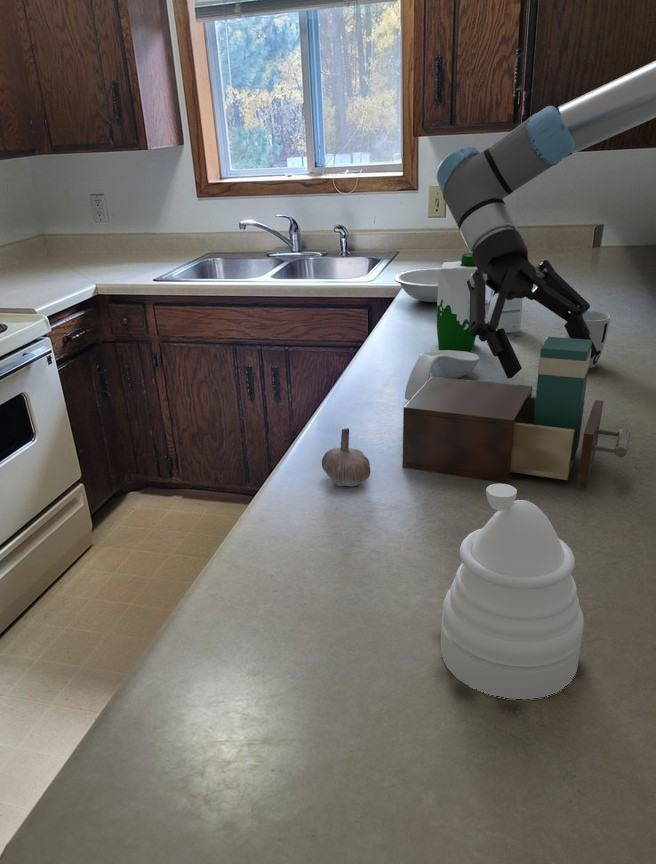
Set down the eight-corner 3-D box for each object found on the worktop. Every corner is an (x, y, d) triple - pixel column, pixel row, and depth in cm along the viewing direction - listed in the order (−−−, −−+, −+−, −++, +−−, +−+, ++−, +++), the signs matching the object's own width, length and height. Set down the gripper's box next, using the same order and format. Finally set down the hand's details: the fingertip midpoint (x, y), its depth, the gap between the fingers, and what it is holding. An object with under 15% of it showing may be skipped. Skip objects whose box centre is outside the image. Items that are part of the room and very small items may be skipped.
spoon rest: (429, 363, 155) (431, 329, 152) (485, 369, 150) (487, 334, 147) (387, 399, 136) (387, 362, 133) (449, 407, 131) (450, 369, 128)
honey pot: (454, 703, 66) (465, 529, 58) (430, 616, 78) (436, 461, 70) (598, 697, 66) (629, 522, 58) (553, 611, 77) (573, 455, 69)
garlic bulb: (333, 465, 112) (332, 416, 108) (379, 472, 109) (379, 422, 106) (313, 486, 106) (311, 435, 102) (361, 494, 103) (360, 442, 99)
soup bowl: (376, 301, 208) (376, 277, 205) (435, 287, 220) (436, 264, 217) (440, 315, 190) (441, 289, 187) (500, 299, 203) (501, 274, 200)
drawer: (627, 453, 109) (635, 403, 106) (619, 492, 98) (628, 438, 95) (498, 436, 117) (502, 390, 113) (479, 471, 106) (482, 421, 102)
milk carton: (475, 353, 159) (481, 258, 150) (433, 352, 162) (436, 258, 153) (478, 342, 167) (484, 251, 158) (438, 341, 169) (441, 251, 160)
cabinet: (526, 444, 116) (532, 386, 111) (508, 483, 104) (513, 420, 100) (430, 431, 122) (432, 376, 118) (402, 467, 110) (403, 407, 106)
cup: (604, 372, 145) (611, 321, 140) (560, 369, 147) (566, 320, 143) (602, 359, 152) (609, 311, 147) (561, 357, 154) (566, 310, 150)
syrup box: (521, 331, 173) (526, 268, 166) (497, 334, 172) (501, 270, 166) (510, 326, 178) (515, 264, 172) (487, 328, 177) (491, 266, 171)
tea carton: (578, 444, 110) (592, 339, 103) (573, 460, 105) (587, 351, 98) (536, 439, 112) (547, 336, 105) (529, 454, 107) (540, 348, 100)
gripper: (546, 250, 118) (603, 364, 113) (413, 268, 110) (468, 393, 104) (574, 218, 112) (636, 338, 106) (434, 235, 103) (494, 367, 97)
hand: (553, 365), depth 105 cm, fingers open, 13 cm apart
